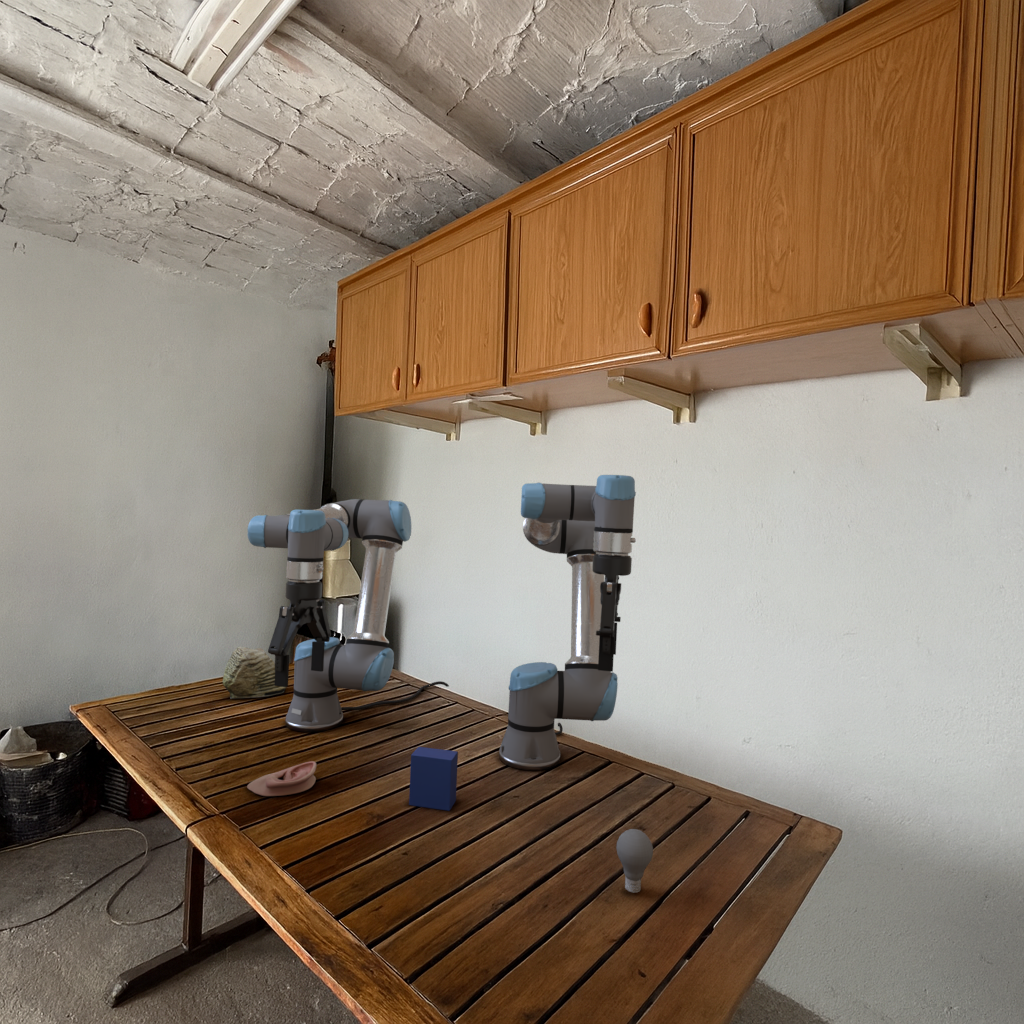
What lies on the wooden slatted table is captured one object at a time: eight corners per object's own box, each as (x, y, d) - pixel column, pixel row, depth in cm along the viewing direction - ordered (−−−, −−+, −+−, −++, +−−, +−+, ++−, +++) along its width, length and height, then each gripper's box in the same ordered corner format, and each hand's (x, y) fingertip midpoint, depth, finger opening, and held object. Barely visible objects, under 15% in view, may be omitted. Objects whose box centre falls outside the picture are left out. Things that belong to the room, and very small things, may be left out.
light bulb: (610, 879, 108) (613, 822, 108) (644, 879, 109) (647, 822, 109) (619, 902, 102) (622, 840, 102) (655, 901, 103) (658, 840, 103)
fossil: (218, 695, 195) (220, 647, 195) (278, 685, 208) (279, 640, 207) (228, 703, 189) (230, 653, 188) (289, 692, 201) (290, 645, 201)
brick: (408, 805, 132) (410, 754, 132) (416, 795, 136) (418, 746, 136) (449, 811, 130) (451, 760, 130) (456, 800, 135) (458, 751, 134)
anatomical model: (239, 773, 134) (270, 753, 145) (238, 792, 134) (269, 770, 145) (296, 782, 131) (323, 760, 142) (295, 801, 131) (323, 777, 142)
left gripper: (285, 587, 125) (280, 695, 125) (348, 576, 149) (344, 666, 149) (252, 585, 127) (247, 691, 127) (320, 574, 151) (316, 663, 151)
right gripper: (630, 560, 111) (625, 680, 111) (632, 550, 135) (628, 649, 136) (587, 557, 112) (582, 676, 113) (597, 548, 137) (592, 646, 137)
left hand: (300, 678), depth 138 cm, fingers open, 13 cm apart
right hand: (607, 661), depth 124 cm, fingers open, 13 cm apart
